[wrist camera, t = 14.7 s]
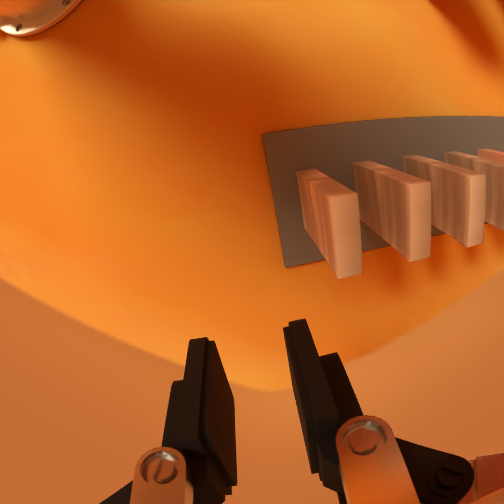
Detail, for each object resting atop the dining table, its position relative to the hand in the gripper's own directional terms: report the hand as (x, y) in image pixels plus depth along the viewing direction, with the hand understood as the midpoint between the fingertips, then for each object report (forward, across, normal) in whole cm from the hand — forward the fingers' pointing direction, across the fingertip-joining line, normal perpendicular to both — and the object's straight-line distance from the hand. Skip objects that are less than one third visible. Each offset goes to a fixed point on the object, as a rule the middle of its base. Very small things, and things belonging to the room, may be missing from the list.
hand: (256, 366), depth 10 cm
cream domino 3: (+19, -16, 0) cm, 25 cm away
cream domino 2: (+19, -11, 0) cm, 22 cm away
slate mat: (+19, -17, 0) cm, 26 cm away
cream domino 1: (+19, -6, 0) cm, 20 cm away
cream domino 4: (+19, -21, 0) cm, 28 cm away
